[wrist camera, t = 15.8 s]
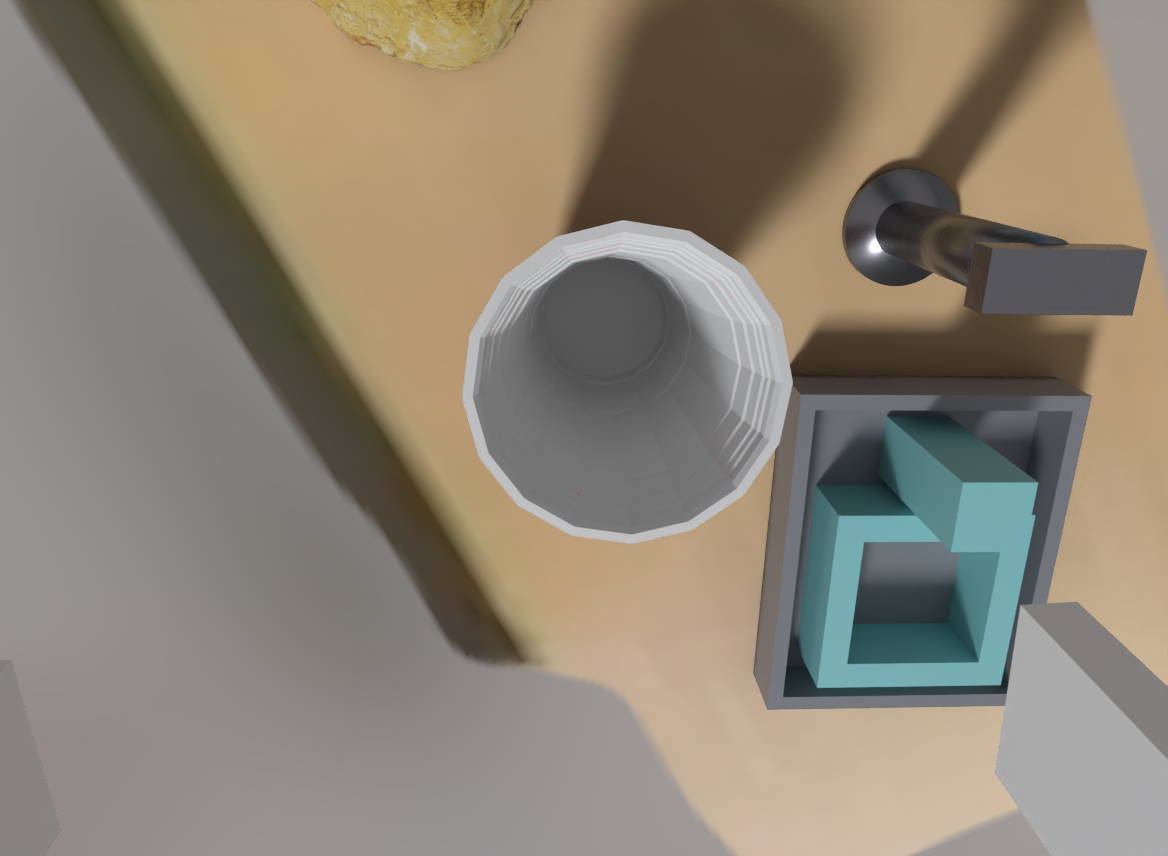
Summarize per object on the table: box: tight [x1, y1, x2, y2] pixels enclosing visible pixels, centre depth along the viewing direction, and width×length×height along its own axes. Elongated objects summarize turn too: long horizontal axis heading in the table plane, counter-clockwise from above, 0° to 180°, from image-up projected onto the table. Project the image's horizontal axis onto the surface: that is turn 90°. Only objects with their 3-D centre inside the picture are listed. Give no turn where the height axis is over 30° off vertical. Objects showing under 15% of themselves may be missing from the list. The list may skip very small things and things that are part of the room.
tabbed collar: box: [797, 416, 1038, 688], centre depth 41 cm, size 12×9×8 cm
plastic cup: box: [462, 220, 793, 544], centre depth 35 cm, size 11×11×12 cm
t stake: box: [842, 169, 1147, 315], centre depth 34 cm, size 5×5×13 cm
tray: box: [753, 375, 1092, 710], centre depth 44 cm, size 16×13×3 cm
